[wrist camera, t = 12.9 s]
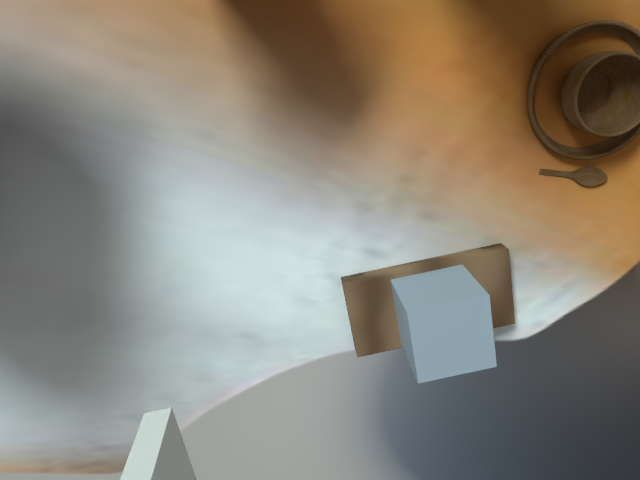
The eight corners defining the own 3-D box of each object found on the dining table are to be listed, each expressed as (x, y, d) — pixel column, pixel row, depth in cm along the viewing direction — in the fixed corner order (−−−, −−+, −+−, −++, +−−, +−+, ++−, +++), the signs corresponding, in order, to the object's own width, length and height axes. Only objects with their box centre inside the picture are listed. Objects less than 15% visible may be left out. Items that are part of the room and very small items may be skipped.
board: (355, 348, 57) (357, 357, 55) (340, 277, 54) (343, 284, 52) (507, 315, 57) (515, 323, 55) (501, 243, 54) (508, 249, 52)
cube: (400, 343, 55) (418, 383, 48) (390, 279, 52) (406, 312, 46) (469, 328, 55) (496, 366, 48) (462, 264, 52) (489, 295, 46)
